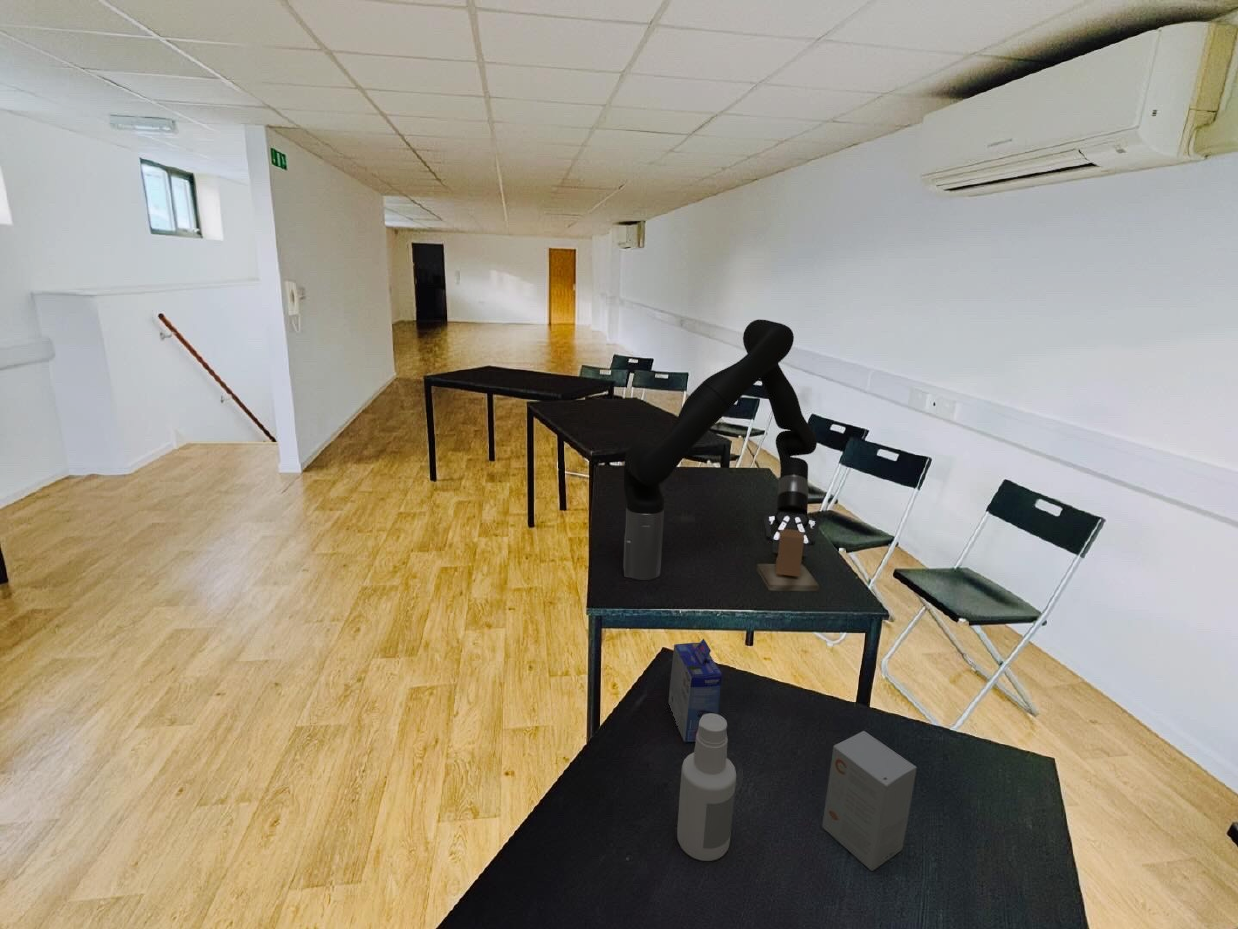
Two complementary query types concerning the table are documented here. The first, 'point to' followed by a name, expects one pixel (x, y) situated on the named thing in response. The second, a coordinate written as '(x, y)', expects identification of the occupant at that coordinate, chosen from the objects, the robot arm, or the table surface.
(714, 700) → the ink cartridge box
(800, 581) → the post stand
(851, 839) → the small box
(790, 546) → the tall brown carton
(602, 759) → the table surface
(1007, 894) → the table surface
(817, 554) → the table surface
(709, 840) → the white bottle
